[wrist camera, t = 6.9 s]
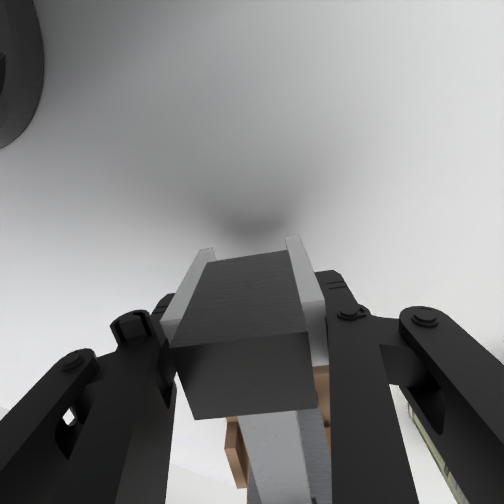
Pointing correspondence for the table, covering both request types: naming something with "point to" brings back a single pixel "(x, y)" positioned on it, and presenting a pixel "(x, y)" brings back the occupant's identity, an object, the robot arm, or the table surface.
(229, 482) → the table surface
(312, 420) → the bearing blocks
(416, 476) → the table surface
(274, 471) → the shaft
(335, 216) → the table surface
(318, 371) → the tray
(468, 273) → the table surface
